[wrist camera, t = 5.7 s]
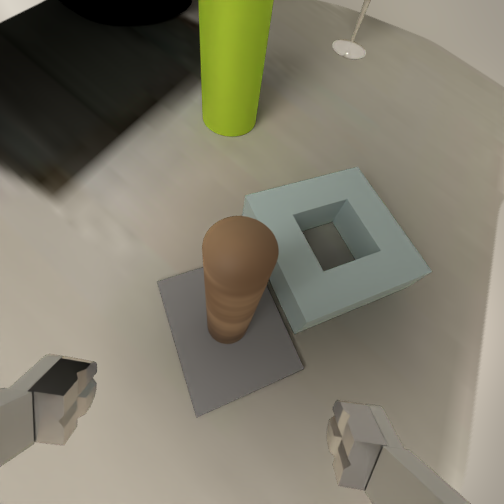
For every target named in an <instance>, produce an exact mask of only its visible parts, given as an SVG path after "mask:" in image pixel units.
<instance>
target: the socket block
mask: <svg viewBox="0 0 504 504" xmlns="http://www.w3.org/2000/svg"><path fill="white" fill-rule="evenodd" d="M242 216H246V217H250V218H253V219H256V220H258V221H260V222H262V223H263V224H265V225H266V226H267V227H268V228H269V229H270V230H271V231H272V233H273V234H274V236H275V238H276V240H277V243H278V248H279V255H278V260H277V263H276V265H275V267H274V269H273V272H272V274H271V276H270V279H269V280H270V282H271V285H272V287H273V289H274V291H275V293H276V296H277V298H278V300H279V302H280V304H281V306H282V309H283V311H284V313H285V315H286V317H287V320H288V322H289V324H290V326H291V328H292V330H293V333H294V334H296V333H298V332H301V331H303V330H305V329H308V328H310V327H313V326H315V325H318V324H320V323H322V322H325V321H327V320H330V319H332V318H334V317H337V316H339V315H342V314H344V313H347V312H349V311H351V310H354V309H356V308H359V307H361V306H363V305H366V304H368V303H371V302H373V301H376V300H378V299H380V298H383V297H385V296H388V295H390V294H393V293H395V292H397V291H400V290H402V289H405V288H407V287H408V286H410V285H412V284H413V283H415V282H416V281H418V280H420V279H421V278H423V277H425V276H426V275H428V274H429V273H431V272H432V271H431V269H430V268H429V266H428V265H427V264H426V262H425V261H424V259H423V258H422V257H421V255H420V254H419V252H418V251H417V250H416V248H415V247H414V245H413V244H412V242H411V241H410V240H409V238H408V237H407V235H406V234H405V233H404V231H403V230H402V228H401V227H400V226H399V224H398V223H397V221H396V220H395V219H394V217H393V216H392V214H391V213H390V211H389V210H388V209H387V207H386V206H385V204H384V203H383V202H382V200H381V199H380V197H379V196H378V195H377V193H376V192H375V190H374V189H373V188H372V186H371V185H370V183H369V182H368V181H367V179H366V178H365V176H364V175H363V173H362V172H361V171H360V169H359V168H358V167H354V168H350V169H346V170H342V171H339V172H335V173H331V174H327V175H323V176H319V177H315V178H311V179H307V180H303V181H299V182H296V183H292V184H288V185H284V186H280V187H276V188H272V189H268V190H264V191H260V192H257V193H253V194H249V195H245V201H244V208H243V214H242ZM330 222H333V224H334V225H335V227H336V229H337V230H338V232H339V234H340V235H341V237H342V239H343V240H344V242H345V243H346V245H347V247H348V248H349V250H350V252H351V253H352V255H353V257H354V258H355V260H354V261H351V262H348V263H346V264H343V265H340V266H337V267H334V268H332V269H329V270H326V271H323V269H322V267H321V266H320V264H319V262H318V260H317V258H316V256H315V255H314V253H313V251H312V249H311V247H310V245H309V244H308V242H307V240H306V238H305V236H304V235H303V233H302V231H304V230H307V229H311V228H314V227H317V226H320V225H324V224H327V223H330Z"/></svg>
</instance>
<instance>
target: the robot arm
mask: <svg viewBox="0 0 504 504" xmlns="http://www.w3.org/2000/svg"><path fill="white" fill-rule="evenodd" d="M96 373H97V363H96V362H94V361H89V360H83V359H78V358H73V357H67V356H60V355H55V354H48V355H45V356H44V357H43V358H41V359H40V360H39V361H38V362H37V363H36V364H35V365H34V366H33V367H32V368H30V369H29V370H28V371H27V372H26V373H25V374H24V375H23V376H22V377H20V378H19V379H18V380H17V381H16V382H15V383H14V384H13V385H12V386H10V387H9V388H1V389H0V467H1V466H2V465H4V464H5V463H7V462H8V461H10V460H11V459H13V458H14V457H16V456H17V455H19V454H20V453H21V452H23V451H24V450H26V449H27V448H29V447H30V446H32V445H33V444H34V442H37V443H46V444H55V445H65V443H66V442H67V441H68V439H69V438H70V436H71V435H72V433H73V432H74V430H75V429H76V427H77V419H78V418H80V417H81V416H83V415H85V414H86V413H87V411H88V410H89V408H90V407H91V404H92V402H93V400H94V397H95V393H96V384H97V383H96V382H95V380H94V379H93V377H94V375H95V374H96ZM333 412H334V415H335V416H333V417H332V418H331V419H329V422H328V426H327V444H328V449H329V452H330V453H331V454H332V455H333V456H334V457H335V458H334V461H333V464H332V465H333V468H334V472H335V476H336V480H337V484H338V486H342V487H347V488H353V489H358V490H364V491H365V493H366V495H367V496H368V497H369V499H370V500H371V501H372V503H373V504H471V503H469V502H468V501H467V500H466V499H465V498H464V497H463V496H461V495H460V494H459V493H458V492H457V491H456V490H455V489H453V488H452V487H451V486H450V485H449V484H448V483H447V482H445V481H444V480H443V479H442V478H441V477H440V476H439V475H437V474H436V473H435V472H434V471H433V470H432V469H431V468H429V467H428V466H427V465H426V464H425V463H424V462H423V461H421V460H420V459H419V458H418V457H417V456H416V455H415V454H413V453H412V452H411V451H410V450H407V449H404V447H403V445H402V443H401V441H400V439H399V437H398V435H397V433H396V431H395V430H394V428H393V426H392V424H391V422H390V420H389V418H388V416H387V414H386V413H385V411H384V409H383V408H382V407H381V406H377V405H370V404H361V403H354V402H348V401H341V400H337V401H336V402H335V404H334V407H333Z"/></svg>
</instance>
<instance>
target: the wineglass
mask: <svg viewBox="0 0 504 504" xmlns="http://www.w3.org/2000/svg"><path fill="white" fill-rule="evenodd" d="M370 1H371V0H364V3H363V6H362V9H361V12H360V15H359V18H358V21H357V24H356V27H355V30H354V33H353V36H352V39H351V40H348V39H338V40H336V41H334V42H333V45H332V47H333V49H334V50H335V52H336V53H338V54H339V55H341V56H343V57H346V58H349V59H360V58H363V57H364V56H365V55H366V51H365V49H364V48H363V46H362V45H360V44H359V43H357V42H355V41H354V39H355V36H356V34H357V32H358V29H359V27H360V25H361V22H362V20H363V18H364V15H365V13H366V10H367V8H368V6H369V3H370Z"/></svg>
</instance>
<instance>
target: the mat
mask: <svg viewBox="0 0 504 504" xmlns="http://www.w3.org/2000/svg"><path fill="white" fill-rule="evenodd" d="M157 283H158V287H159V290H160V294H161V297H162V301H163V304H164V308H165V311H166V314H167V318H168V321H169V325H170V328H171V332H172V335H173V339H174V342H175V346H176V349H177V353H178V356H179V359H180V363H181V366H182V370H183V373H184V377H185V380H186V384H187V387H188V391H189V394H190V398H191V401H192V404H193V408H194V411H195V415H196V418H197V417H199V416H201V415H203V414H205V413H208V412H210V411H212V410H214V409H216V408H219V407H221V406H223V405H225V404H228V403H230V402H232V401H234V400H236V399H239V398H241V397H243V396H245V395H247V394H250V393H252V392H254V391H256V390H258V389H261V388H263V387H265V386H267V385H269V384H272V383H274V382H276V381H278V380H280V379H283V378H285V377H287V376H289V375H291V374H294V373H296V372H298V371H300V370H302V369H304V367H303V365H302V363H301V361H300V358H299V356H298V354H297V352H296V349H295V347H294V345H293V343H292V341H291V338H290V336H289V334H288V332H287V329H286V327H285V325H284V323H283V321H282V318H281V316H280V314H279V312H278V309H277V307H276V305H275V303H274V301H273V298H272V296H271V294H270V292H269V289H268V287H267V285H266V288H265V290H264V292H263V294H262V297H261V299H260V301H259V304H258V306H257V308H256V310H255V313H254V315H253V317H252V319H251V322H250V324H249V326H248V329H247V331H246V333H245V335H244V336H243V337H242V338H241V339H240V340H239V341H237V342H235V343H232V344H223V343H220V342H218V341H216V340H215V339H214V338H212V336H211V335H210V333H209V331H208V326H207V311H206V297H205V282H204V268H203V267H202V268H199V269H196V270H192V271H189V272H186V273H183V274H180V275H176V276H173V277H170V278H167V279H164V280H160V281H157Z"/></svg>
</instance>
